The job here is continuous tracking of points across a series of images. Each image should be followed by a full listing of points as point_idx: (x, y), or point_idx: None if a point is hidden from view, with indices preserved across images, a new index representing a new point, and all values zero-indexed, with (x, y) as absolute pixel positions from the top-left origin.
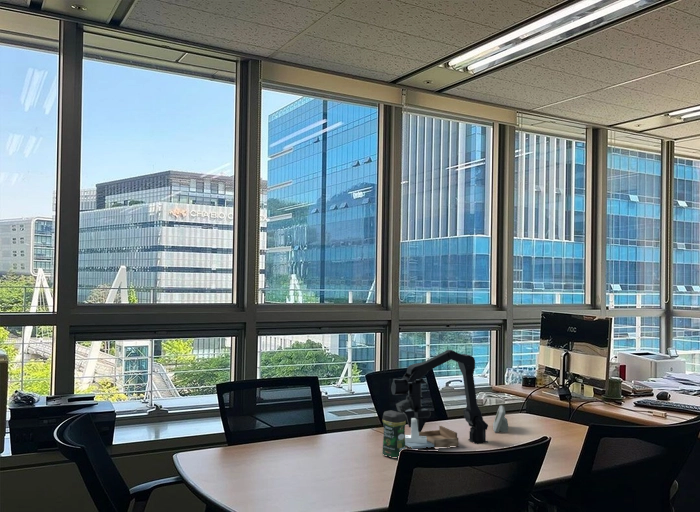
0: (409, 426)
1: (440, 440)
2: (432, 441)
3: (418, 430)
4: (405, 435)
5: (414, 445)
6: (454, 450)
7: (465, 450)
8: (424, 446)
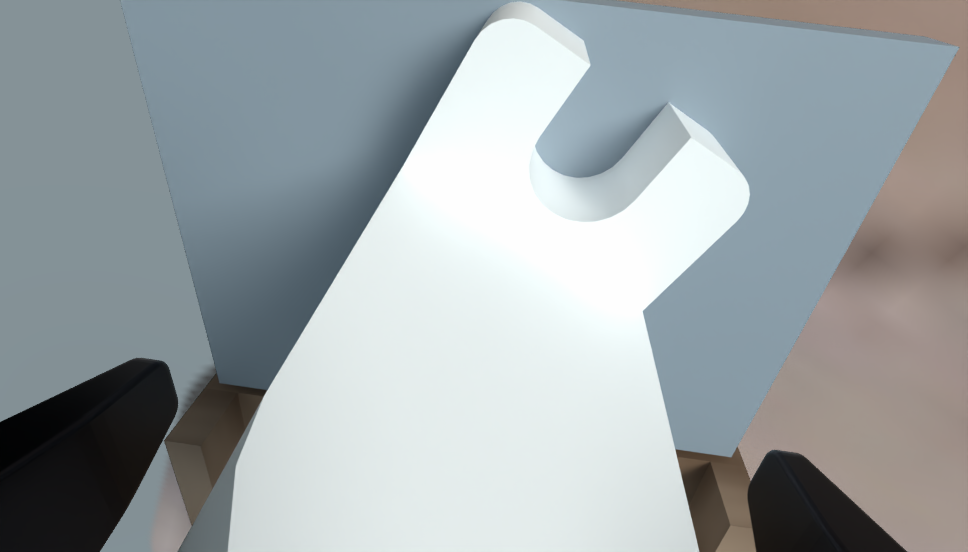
0: (775, 470)
1: (188, 488)
2: None
3: (115, 377)
4: (678, 180)
5: (172, 54)
6: (171, 467)
7: (157, 526)
8: (192, 232)
